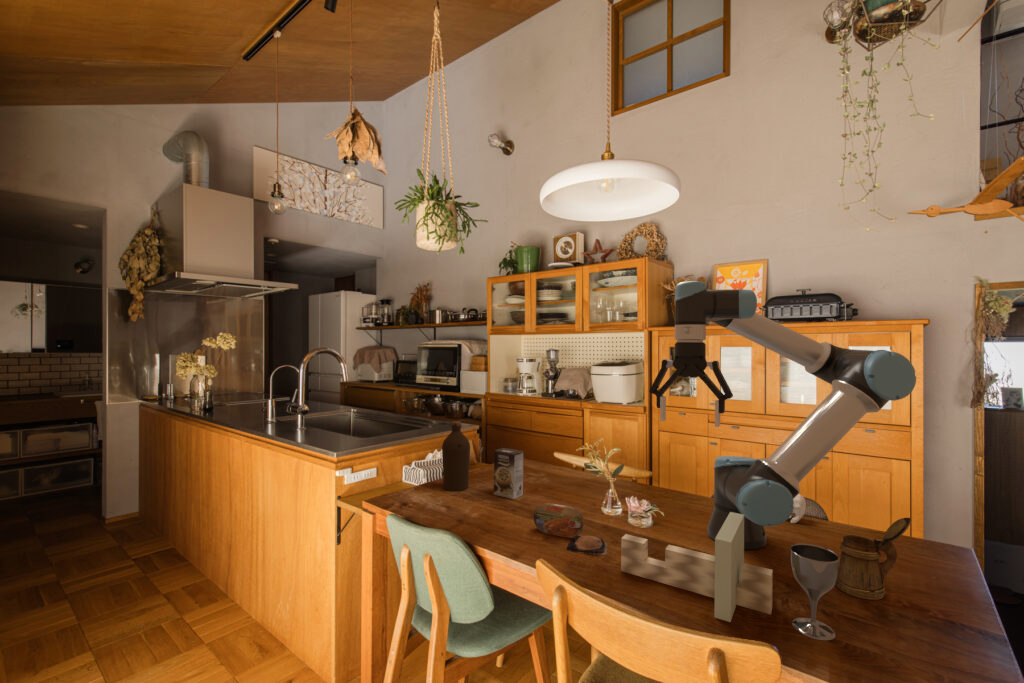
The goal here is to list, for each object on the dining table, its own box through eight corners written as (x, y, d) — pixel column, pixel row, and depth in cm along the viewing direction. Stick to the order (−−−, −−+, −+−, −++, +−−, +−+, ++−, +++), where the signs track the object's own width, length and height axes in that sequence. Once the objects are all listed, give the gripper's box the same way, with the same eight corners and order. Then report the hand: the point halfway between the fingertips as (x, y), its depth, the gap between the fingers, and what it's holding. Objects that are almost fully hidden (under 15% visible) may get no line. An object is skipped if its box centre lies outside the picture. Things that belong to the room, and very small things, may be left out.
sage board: (730, 622, 93) (731, 542, 93) (714, 617, 95) (715, 538, 95) (743, 583, 108) (744, 514, 108) (729, 579, 110) (730, 511, 110)
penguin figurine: (801, 497, 142) (758, 491, 150) (804, 525, 142) (761, 518, 150) (806, 492, 147) (765, 487, 155) (809, 520, 146) (767, 513, 154)
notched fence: (621, 571, 114) (621, 538, 114) (625, 566, 116) (625, 533, 116) (770, 614, 96) (771, 575, 96) (772, 607, 98) (772, 569, 98)
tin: (532, 530, 137) (532, 502, 137) (537, 527, 140) (537, 499, 140) (581, 541, 130) (581, 511, 130) (585, 537, 133) (585, 507, 133)
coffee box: (492, 494, 169) (493, 450, 169) (503, 490, 174) (503, 447, 174) (513, 499, 164) (513, 453, 164) (523, 494, 169) (524, 450, 169)
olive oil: (475, 486, 178) (476, 421, 178) (455, 493, 170) (456, 425, 170) (456, 481, 185) (456, 418, 185) (435, 487, 176) (436, 421, 176)
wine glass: (794, 636, 89) (794, 557, 89) (786, 613, 96) (786, 540, 96) (843, 646, 86) (844, 564, 86) (831, 621, 94) (832, 547, 93)
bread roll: (608, 545, 129) (608, 532, 129) (606, 559, 121) (606, 544, 121) (569, 540, 132) (570, 527, 132) (565, 553, 124) (565, 539, 124)
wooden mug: (916, 610, 98) (916, 525, 97) (837, 593, 104) (838, 512, 104) (905, 591, 105) (906, 511, 105) (833, 575, 112) (833, 501, 112)
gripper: (638, 341, 125) (637, 420, 125) (740, 341, 111) (740, 431, 111) (646, 341, 131) (646, 416, 131) (745, 341, 117) (744, 426, 117)
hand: (689, 423), depth 121 cm, fingers open, 13 cm apart
